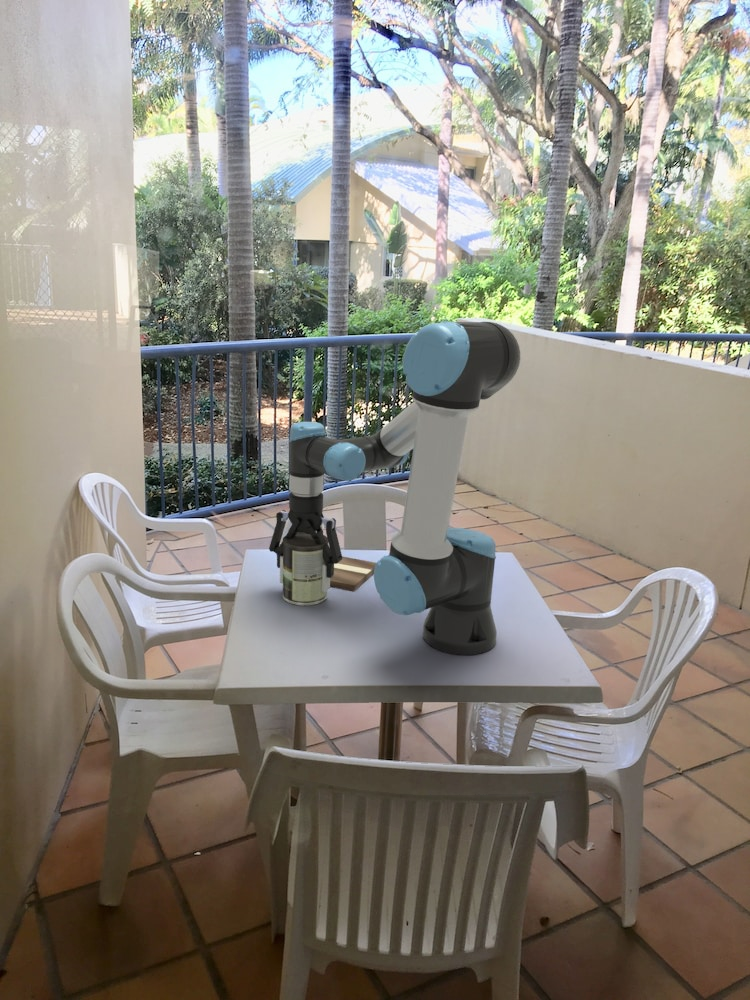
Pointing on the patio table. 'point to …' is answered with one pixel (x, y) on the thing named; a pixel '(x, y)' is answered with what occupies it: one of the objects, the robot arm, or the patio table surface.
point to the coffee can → (303, 570)
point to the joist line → (351, 568)
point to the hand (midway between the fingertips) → (304, 585)
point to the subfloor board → (351, 574)
